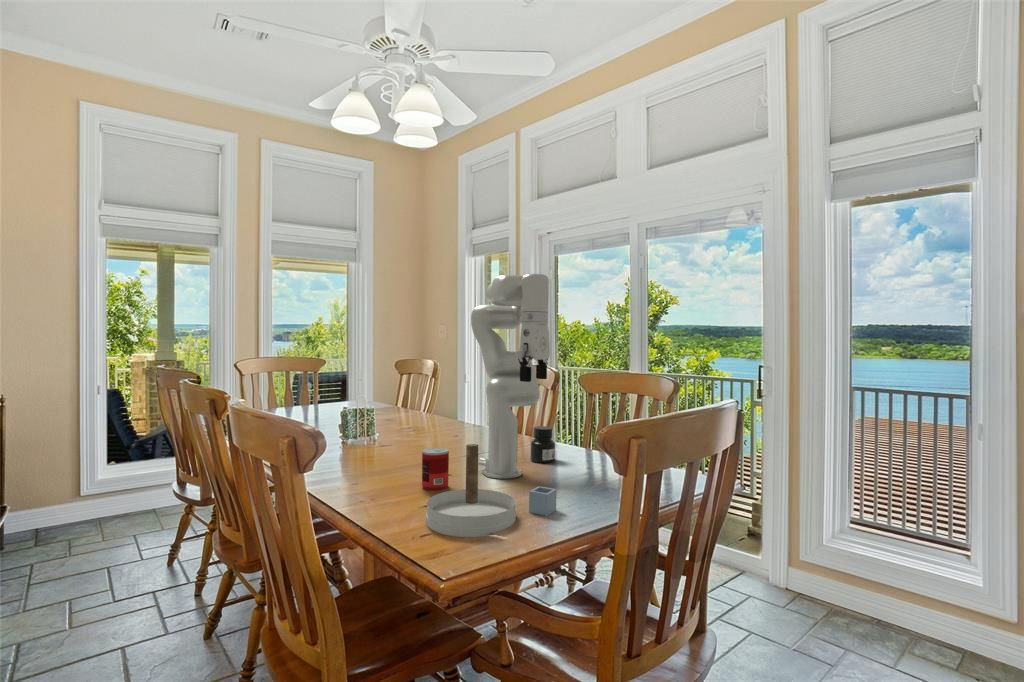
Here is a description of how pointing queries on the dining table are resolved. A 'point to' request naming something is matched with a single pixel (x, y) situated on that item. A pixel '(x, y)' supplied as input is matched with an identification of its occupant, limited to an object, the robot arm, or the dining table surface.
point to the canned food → (435, 468)
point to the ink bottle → (543, 445)
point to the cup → (542, 501)
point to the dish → (470, 513)
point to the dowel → (471, 473)
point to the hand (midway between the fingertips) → (533, 380)
